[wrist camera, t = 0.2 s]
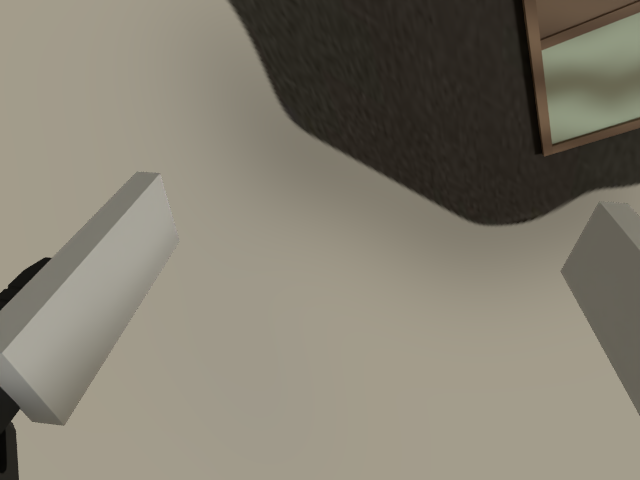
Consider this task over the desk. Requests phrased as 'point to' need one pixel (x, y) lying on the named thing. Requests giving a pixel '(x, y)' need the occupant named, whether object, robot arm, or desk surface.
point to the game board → (584, 69)
